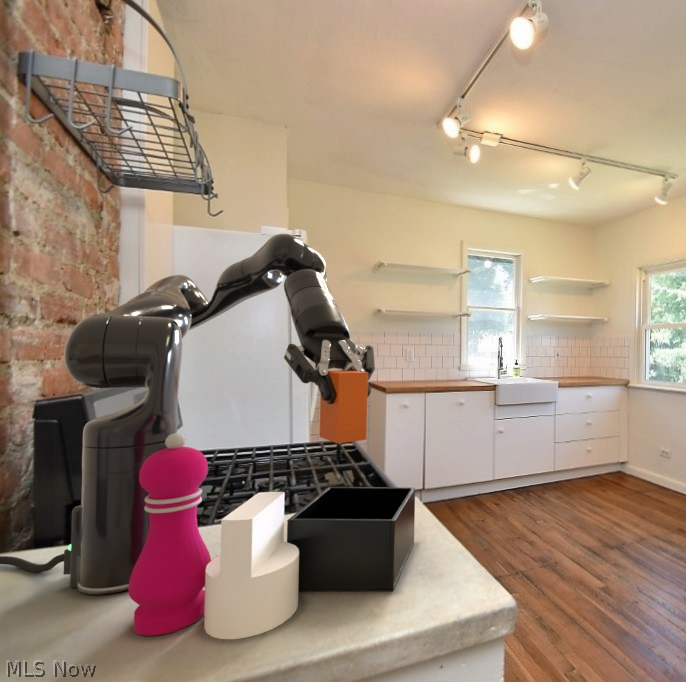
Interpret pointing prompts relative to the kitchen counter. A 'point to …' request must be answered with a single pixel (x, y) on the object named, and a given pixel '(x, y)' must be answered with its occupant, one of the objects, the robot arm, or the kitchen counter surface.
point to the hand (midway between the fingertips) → (349, 398)
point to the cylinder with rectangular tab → (252, 571)
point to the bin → (353, 538)
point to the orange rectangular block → (345, 408)
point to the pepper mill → (171, 542)
